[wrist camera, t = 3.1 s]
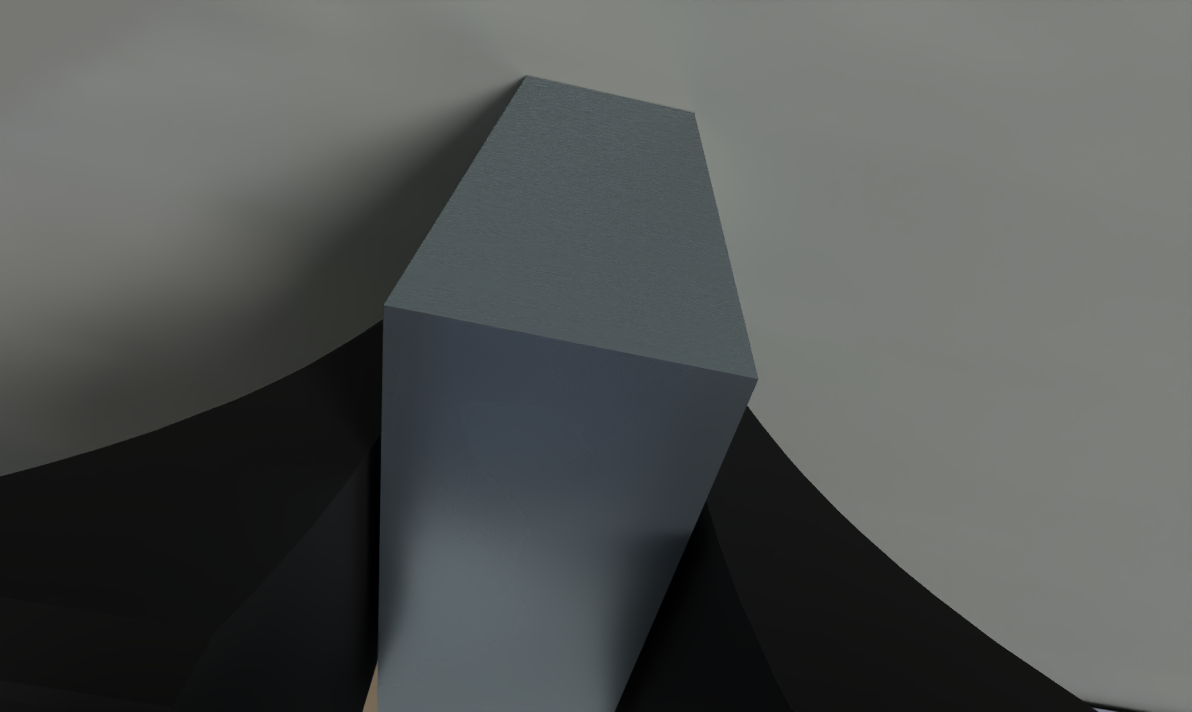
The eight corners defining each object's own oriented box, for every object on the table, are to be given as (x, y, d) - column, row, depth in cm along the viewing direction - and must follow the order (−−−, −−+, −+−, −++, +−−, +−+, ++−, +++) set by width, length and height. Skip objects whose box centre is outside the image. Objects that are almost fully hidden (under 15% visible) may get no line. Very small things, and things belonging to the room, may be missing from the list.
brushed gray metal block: (694, 112, 10) (757, 378, 4) (599, 453, 14) (573, 808, 8) (526, 75, 10) (383, 306, 4) (479, 430, 14) (375, 778, 8)
